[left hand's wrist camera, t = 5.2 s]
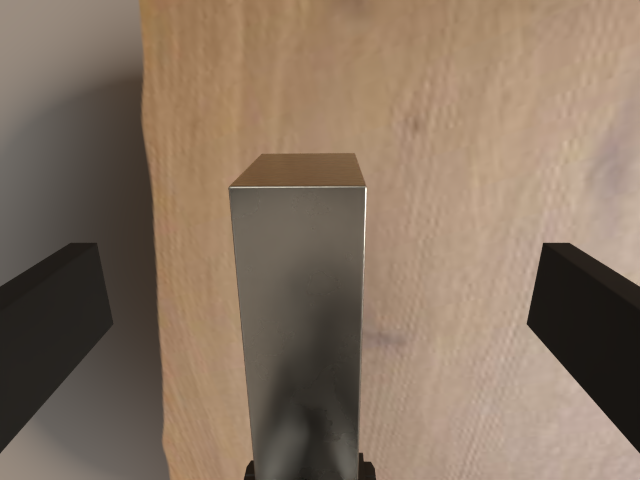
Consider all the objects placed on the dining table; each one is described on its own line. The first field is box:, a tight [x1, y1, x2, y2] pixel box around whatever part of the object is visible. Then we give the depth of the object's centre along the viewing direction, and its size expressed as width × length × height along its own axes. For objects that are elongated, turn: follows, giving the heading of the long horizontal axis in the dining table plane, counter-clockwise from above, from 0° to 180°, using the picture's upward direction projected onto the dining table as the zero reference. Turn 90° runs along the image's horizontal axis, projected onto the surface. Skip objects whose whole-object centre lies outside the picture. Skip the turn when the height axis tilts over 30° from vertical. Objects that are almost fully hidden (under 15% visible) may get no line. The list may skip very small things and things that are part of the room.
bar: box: [229, 153, 367, 480], centre depth 24 cm, size 23×5×8 cm, turn 1°
